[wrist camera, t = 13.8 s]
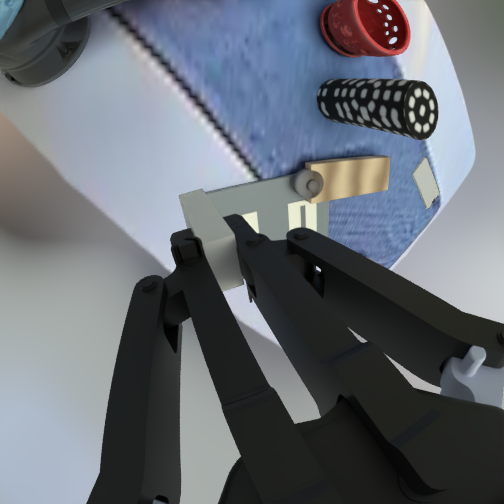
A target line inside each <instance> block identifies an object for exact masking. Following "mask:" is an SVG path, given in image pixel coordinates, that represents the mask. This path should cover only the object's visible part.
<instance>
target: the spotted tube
mask: <svg viewBox="0 0 504 504" xmlns="http://www.w3.org/2000/svg"><path fill="white" fill-rule="evenodd" d="M317 103H318V107H319V110H320V112H321V113H322V114H323V116H324V117H325V118H327V119H328V120H330V121H333V122H339V123H345V124H351V125H357V126H362V127H367V128H372V129H377V130H381V131H386V132H390V133H394V134H399V135H403V136H407V137H411V138H414V139H418V140H425V139H427V138H429V137H430V136H431V135H432V133H433V132H434V130H435V128H436V125H437V121H438V103H437V99H436V96H435V94H434V92H433V90H432V88H431V87H430V86H429V85H428V84H427V83H425V82H423V81H415V80H400V79H332V80H328V81H326V82H324V83H323V84H322V85H321V87H320V88H319V91H318V95H317Z"/></svg>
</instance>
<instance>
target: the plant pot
mask: <svg viewBox="0 0 504 504" xmlns="http://www.w3.org/2000/svg"><path fill="white" fill-rule="evenodd" d="M383 5H386V6H387V7H388V8H389V9H388V10H387V9H385V8H384V7H383ZM377 9H380V10H381V11H382V13H380V12H378V10H377ZM387 15H390V16H391V17H392V20H388V18H387ZM385 22H387V23H388V27H386V26H385ZM394 26H397V29H398V30H397V32H395V31H394ZM320 27H321V31H322V34H323V36H324V38H325V39H326V41H327V42H328V43H329V45H330V46H331V47H332V48H333V49H335V50H336V51H337V52H339V53H341V54H343V55H345V56H348V57H359V56H362V55H364V56H376V57H382V56H394V55H399V54H401V53H403V52H404V51H405V50H406V49H407V47H408V45H409V43H410V27H409V23H408V20H407V17H406V15H405V13H404V11H403V9H402V8H401V6H400V5H399V4H398V2H397V1H396V0H378V3H372V2H370V1H368V0H337V1H336V2H335V3H333V4H330V5H329V6H327V7H326V8H325V9H324V10H323V12H322V14H321V17H320ZM387 31H388V32H389V34H388V35H386V32H387ZM393 37H397V41H396V42H395V43H393V44H389V41H390V39H391V38H393ZM394 48H395V49H394ZM392 49H393V50H392Z"/></svg>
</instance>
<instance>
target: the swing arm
mask: <svg viewBox="0 0 504 504" xmlns="http://www.w3.org/2000/svg"><path fill="white" fill-rule="evenodd" d="M389 167H390V157H388V156H385V155H377V156H363V157H351V158H340V159H330V160H321V161H312V162H305V168H303V169H301V170H299V171H298V172H297V173H296V174H295V176H294V178H293V188H294V190H295V192H296V193H297V194H299V195H301V196H302V197H304V198H305V200H306V201H307V202H309V203H310V204H314V203H319V202H325V201H330V200H335V199H340V198H345V197H351V196H356V195H362V194H367V193H373V192H378V191H384V190H388V180H389Z"/></svg>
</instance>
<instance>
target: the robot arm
mask: <svg viewBox="0 0 504 504" xmlns="http://www.w3.org/2000/svg"><path fill="white" fill-rule="evenodd" d="M126 1H129V0H0V69H1V70H2V72H3V74H4V75H5V76H6V78H7V79H8V80H10V81H11V82H13V83H15V84H17V85H21V86H29V87H33V86H40V85H43V84H46V83H49V82H51V81H53V80H54V79H56V78H58V77H59V76H61V75H62V74H63V73H65V72H66V71H67V70H68V69H69V68H70V67H71V66H72V65H73V64H74V63H75V61H76V60H77V59H78V57H79V56H80V55H81V53H82V51H83V50H84V48H85V45H86V43H87V40H88V37H89V33H90V18H89V15H90V14H92V13H95V12H97V11H100V10H103V9H105V8H108V7H111V6H114V5H117V4H120V3H123V2H126ZM179 199H180V202H181V206H182V210H183V214H184V218H185V221H186V225H187V229H185V230H182V231H178V232H175V233H173V234H172V236H171V238H170V241H171V245H172V246H171V252H172V255H173V258H174V261H175V264H176V269H175V270H174V272H173V273H172V274H171V275H169V276H168V277H166V278H164V279H163V278H162V277H161V276H157V275H151V276H147V277H145V278H143V279H141V280H140V281H139V282H138V283H137V284H136V286H135V288H134V290H133V294H132V297H131V301H130V305H129V309H128V312H127V317H126V320H125V324H124V328H123V332H122V336H121V340H120V345H119V349H118V354H117V358H116V363H115V368H114V373H113V378H112V383H111V389H110V395H109V400H108V407H107V413H106V420H105V427H104V435H103V443H102V453H101V464H100V473H99V476H98V478H97V480H96V483H95V485H94V487H93V489H92V492H91V494H90V496H89V499H88V501H87V503H86V504H179V502H180V496H181V466H180V465H181V464H180V370H181V345H182V322H183V321H185V320H186V319H188V318H190V317H191V318H192V321H193V325H194V328H195V331H196V334H197V337H198V340H199V343H200V346H201V349H202V352H203V355H204V358H205V361H206V364H207V367H208V369H209V372H210V375H211V378H212V380H213V383H214V386H215V389H216V391H217V394H218V397H219V399H220V402H221V405H222V410H223V413H224V416H225V419H226V421H227V423H228V426H229V428H230V431H231V433H232V436H233V438H234V440H235V443H236V445H237V448H238V450H239V452H240V455H241V457H240V458H239V459H238V460H237V461H236V463H235V464H234V466H233V467H232V469H231V471H230V472H229V475H228V477H227V480H226V483H225V485H224V488H223V491H222V494H221V497H220V499H219V502H218V504H504V410H503V409H501V405H502V397H503V387H504V324H502V323H499V322H495V321H492V320H489V319H485V318H482V317H478V316H475V315H472V314H468V313H465V312H462V311H460V310H459V309H457V308H455V307H454V306H452V305H450V304H449V303H447V302H445V301H444V300H442V299H440V298H439V297H437V296H435V295H433V294H431V293H430V292H428V291H426V290H425V289H423V288H421V287H419V286H418V285H416V284H414V283H412V282H411V281H409V280H407V279H405V278H403V277H402V276H400V275H398V274H396V273H394V272H393V271H391V270H389V269H387V268H385V267H383V266H381V265H380V264H378V263H376V262H374V261H372V260H370V259H368V258H367V257H365V256H363V255H361V254H359V253H357V252H355V251H353V250H351V249H349V248H347V247H346V246H344V245H342V244H340V243H338V242H336V241H334V240H332V239H330V238H328V237H326V236H324V235H322V234H320V233H318V232H316V231H314V230H312V229H309V228H304V227H299V228H294V229H291V230H290V231H288V232H287V234H286V239H284V240H270V239H269V238H268V237H267V236H266V235H264V234H261V233H256V231H255V230H254V229H253V228H252V227H251V226H250V225H249V223H248V222H247V221H246V220H245V219H244V218H243V216H241V215H238V214H232V215H229V216H225V217H222V216H221V215H220V213H219V212H218V210H217V209H216V208H215V206H214V205H213V203H212V202H211V201H210V199H209V198H208V196H207V195H206V193H205V192H204V191H203V189H199V190H195V191H192V192H188V193H185V194H181V195H179ZM316 266H317V267H319V268H320V269H321V272H320V271H318V270H316ZM243 277H244V279H245V281H246V284H247V290H248V295H249V300H250V303H251V302H252V299H253V300H254V302H255V304H256V305H257V307H258V309H259V310H260V312H261V314H262V315H263V317H264V319H265V320H266V322H267V324H268V325H269V327H270V329H271V330H272V332H273V334H274V335H275V337H276V339H277V340H278V342H279V344H280V345H281V347H282V349H283V350H284V352H285V353H286V355H287V356H288V358H289V360H290V362H291V363H292V365H293V366H294V368H295V370H296V371H297V373H298V374H299V376H300V378H301V379H302V381H303V383H304V384H305V386H306V387H307V389H308V391H309V392H310V394H311V395H312V397H313V399H314V400H315V402H316V404H317V406H318V409H319V413H320V416H321V418H319V419H315V420H311V421H306V422H302V423H297V424H294V422H293V420H292V419H291V417H290V415H289V413H288V411H287V410H286V408H285V406H284V404H283V403H282V401H281V399H280V397H279V396H278V394H277V392H276V391H275V389H274V388H272V387H270V385H269V384H268V382H267V380H266V378H265V376H264V374H263V372H262V371H261V369H260V367H259V365H258V363H257V361H256V359H255V357H254V355H253V353H252V351H251V349H250V347H249V345H248V343H247V341H246V339H245V338H244V335H243V333H242V331H241V329H240V327H239V325H238V323H237V321H236V319H235V317H234V315H233V313H232V311H231V309H230V307H229V305H228V303H227V301H226V299H225V296H224V294H223V291H226V290H229V289H232V288H235V287H238V286H241V285H244V281H243ZM348 327H349V328H350V329H351V330H353V331H354V332H355V333H357V334H358V335H360V336H361V337H363V338H364V339H365V340H367V341H368V342H365V343H362V342H360V341H359V340H358V339H357V338H356V337H355V336H354V335H353V333H352V332H351V331H350V330H349V329H348ZM384 353H385V354H386V355H388V356H389V357H390V358H392V359H393V360H394V361H396V362H397V363H398V364H400V365H401V366H403V367H404V368H405V369H407V370H409V371H410V372H411V373H413V374H414V375H416V376H417V377H419V378H421V379H422V380H424V381H426V382H428V383H430V384H432V385H435V386H438V387H440V388H441V389H442V390H441V393H440V394H436V393H432V392H428V391H424V390H420V389H416V388H413V387H412V385H411V384H410V383H409V382H408V381H407V380H406V378H405V377H404V376H403V375H402V374H401V373H400V371H399V370H398V369H397V368H396V367H395V366H394V364H393V363H392V362H391V361H390V360H389V359H388V358H387V356H386V355H385V354H384Z"/></svg>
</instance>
